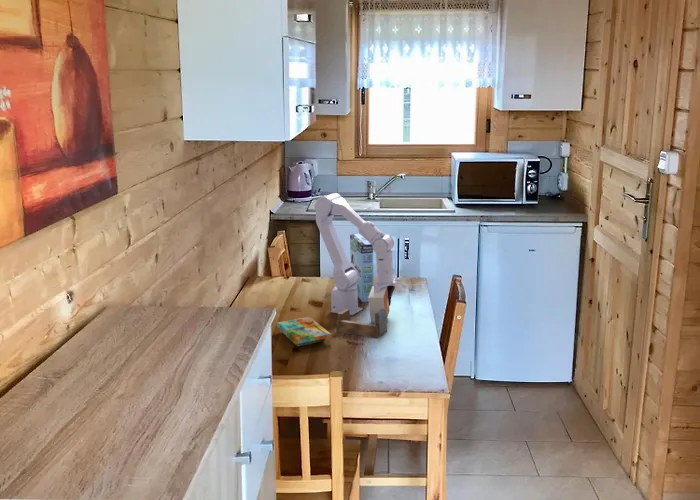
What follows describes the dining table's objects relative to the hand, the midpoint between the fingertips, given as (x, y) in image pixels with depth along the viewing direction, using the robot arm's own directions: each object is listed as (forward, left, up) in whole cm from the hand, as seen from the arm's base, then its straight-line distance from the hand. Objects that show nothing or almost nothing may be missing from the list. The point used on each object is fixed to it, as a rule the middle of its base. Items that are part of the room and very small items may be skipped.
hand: (386, 305), depth 253 cm
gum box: (-21, +19, -4) cm, 28 cm away
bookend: (+7, -17, -4) cm, 19 cm away
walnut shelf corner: (-1, -17, -4) cm, 18 cm away
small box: (-1, -4, -3) cm, 5 cm away
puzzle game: (-16, -31, -4) cm, 35 cm away
